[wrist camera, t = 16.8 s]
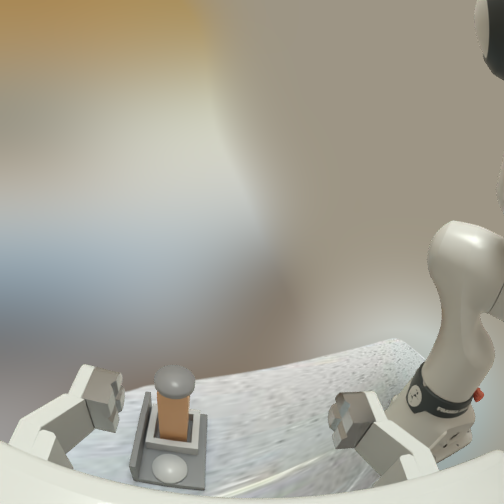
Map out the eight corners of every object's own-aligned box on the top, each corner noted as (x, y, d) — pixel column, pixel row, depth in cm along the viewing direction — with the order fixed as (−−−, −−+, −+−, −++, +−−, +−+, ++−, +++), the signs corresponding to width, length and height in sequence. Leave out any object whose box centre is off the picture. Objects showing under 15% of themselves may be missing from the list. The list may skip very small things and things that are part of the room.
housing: (206, 418, 47) (209, 400, 45) (204, 490, 34) (206, 477, 32) (147, 409, 46) (145, 391, 44) (133, 480, 33) (129, 466, 31)
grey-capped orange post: (192, 422, 45) (196, 367, 40) (190, 448, 40) (193, 396, 35) (160, 417, 44) (157, 362, 39) (155, 443, 39) (151, 390, 34)
